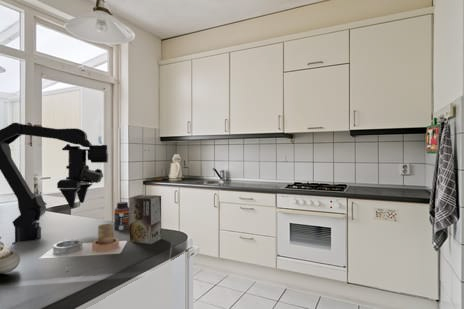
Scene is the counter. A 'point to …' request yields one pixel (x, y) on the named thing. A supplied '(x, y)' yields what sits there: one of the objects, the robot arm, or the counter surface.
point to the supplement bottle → (121, 217)
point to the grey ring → (67, 247)
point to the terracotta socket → (105, 246)
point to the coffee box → (145, 218)
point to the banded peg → (105, 234)
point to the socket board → (85, 251)
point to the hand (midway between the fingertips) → (77, 204)
